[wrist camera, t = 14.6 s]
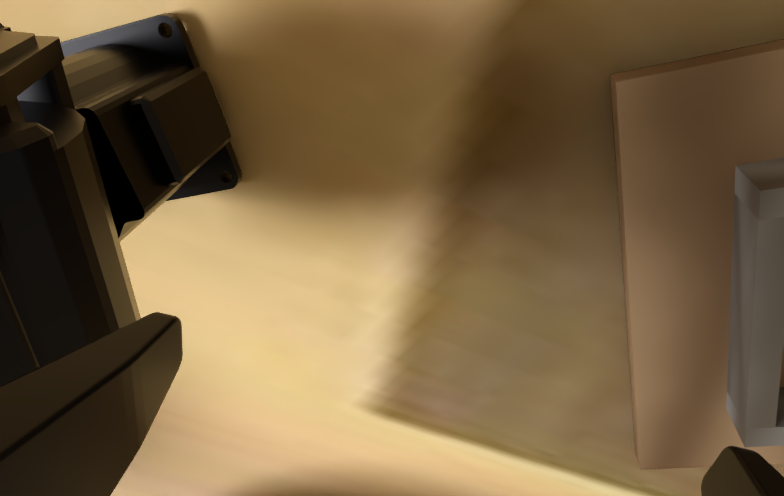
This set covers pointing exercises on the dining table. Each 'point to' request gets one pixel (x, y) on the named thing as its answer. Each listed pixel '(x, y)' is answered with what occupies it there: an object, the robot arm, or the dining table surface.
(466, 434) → the dining table surface
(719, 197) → the collar board
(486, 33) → the dining table surface
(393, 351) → the dining table surface
